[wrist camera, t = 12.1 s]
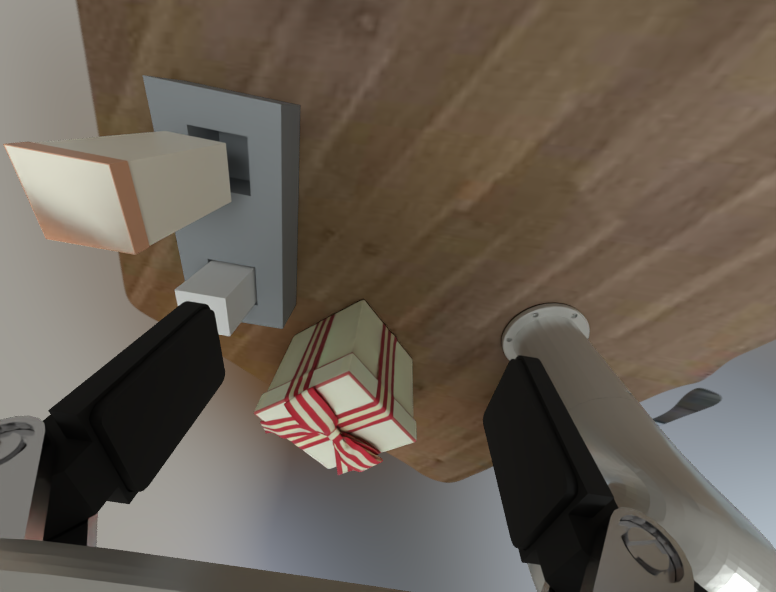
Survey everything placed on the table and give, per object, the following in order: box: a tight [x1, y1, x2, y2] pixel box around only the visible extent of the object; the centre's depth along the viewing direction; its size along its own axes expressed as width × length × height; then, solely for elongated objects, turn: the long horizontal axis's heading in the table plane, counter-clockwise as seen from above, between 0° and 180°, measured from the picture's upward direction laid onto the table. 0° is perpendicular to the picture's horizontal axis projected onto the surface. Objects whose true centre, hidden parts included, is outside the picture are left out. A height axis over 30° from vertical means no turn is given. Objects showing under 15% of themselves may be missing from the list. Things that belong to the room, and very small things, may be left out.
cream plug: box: [3, 131, 231, 255], centre depth 22 cm, size 5×5×12 cm
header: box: [143, 75, 300, 336], centre depth 33 cm, size 26×12×13 cm, turn 170°
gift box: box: [254, 300, 417, 475], centre depth 43 cm, size 17×18×17 cm
